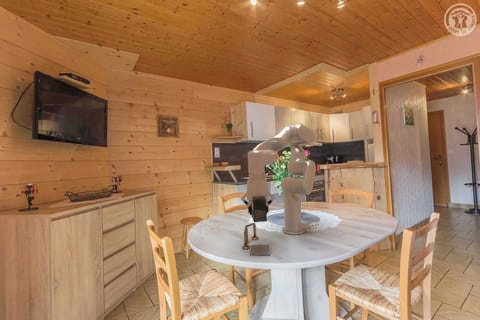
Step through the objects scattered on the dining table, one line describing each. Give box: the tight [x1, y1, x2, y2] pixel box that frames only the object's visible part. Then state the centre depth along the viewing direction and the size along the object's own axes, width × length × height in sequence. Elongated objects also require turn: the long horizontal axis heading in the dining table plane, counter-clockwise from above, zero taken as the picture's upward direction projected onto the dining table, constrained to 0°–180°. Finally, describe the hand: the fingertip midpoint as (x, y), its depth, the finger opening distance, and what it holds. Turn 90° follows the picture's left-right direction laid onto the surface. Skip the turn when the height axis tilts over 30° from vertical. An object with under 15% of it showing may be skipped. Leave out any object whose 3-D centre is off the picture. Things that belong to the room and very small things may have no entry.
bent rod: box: [241, 222, 260, 251], centre depth 118 cm, size 5×17×9 cm, turn 156°
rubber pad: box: [249, 244, 271, 257], centre depth 108 cm, size 9×11×1 cm
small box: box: [250, 198, 268, 223], centre depth 108 cm, size 11×6×10 cm, turn 4°
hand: (258, 213), depth 108 cm, fingers closed on small box, 6 cm apart
